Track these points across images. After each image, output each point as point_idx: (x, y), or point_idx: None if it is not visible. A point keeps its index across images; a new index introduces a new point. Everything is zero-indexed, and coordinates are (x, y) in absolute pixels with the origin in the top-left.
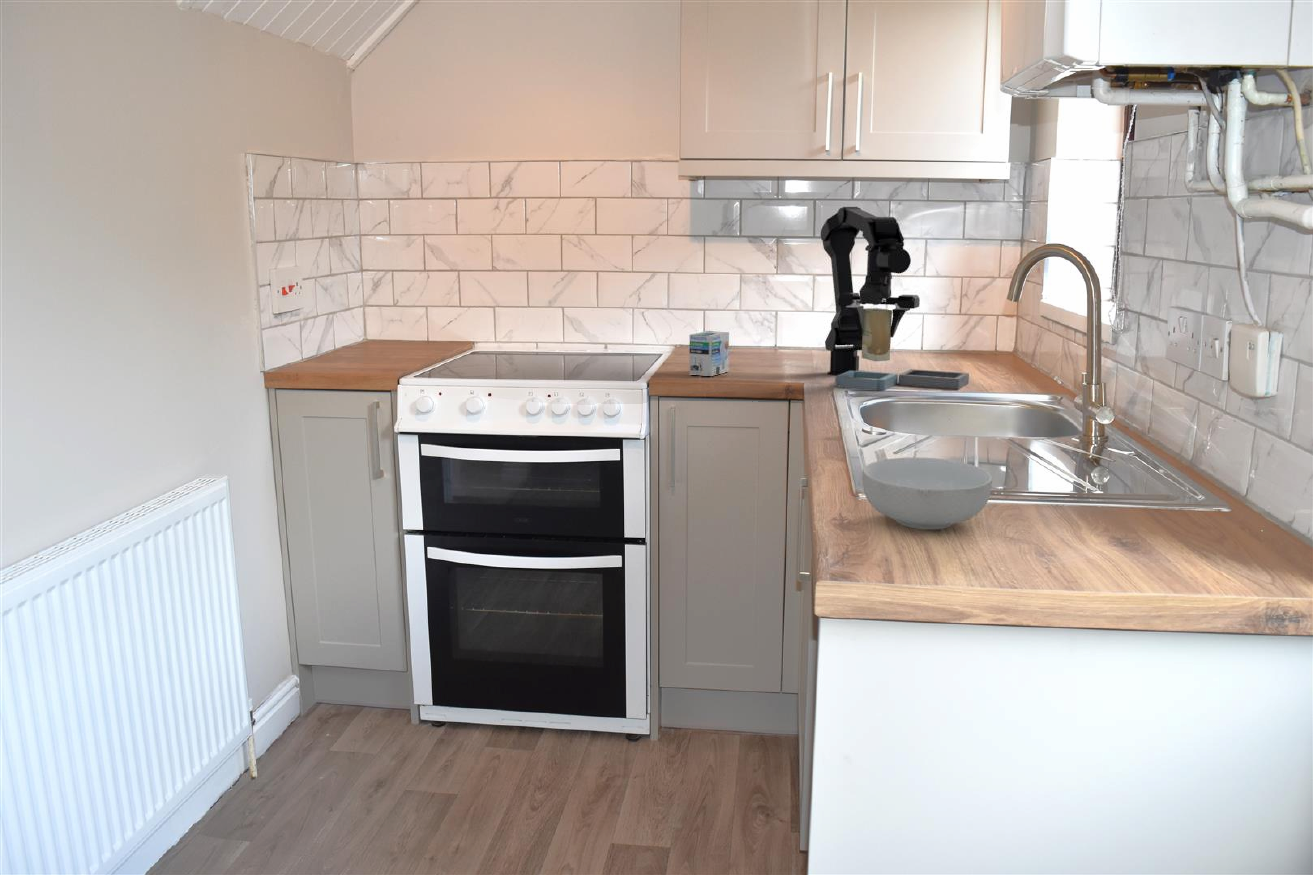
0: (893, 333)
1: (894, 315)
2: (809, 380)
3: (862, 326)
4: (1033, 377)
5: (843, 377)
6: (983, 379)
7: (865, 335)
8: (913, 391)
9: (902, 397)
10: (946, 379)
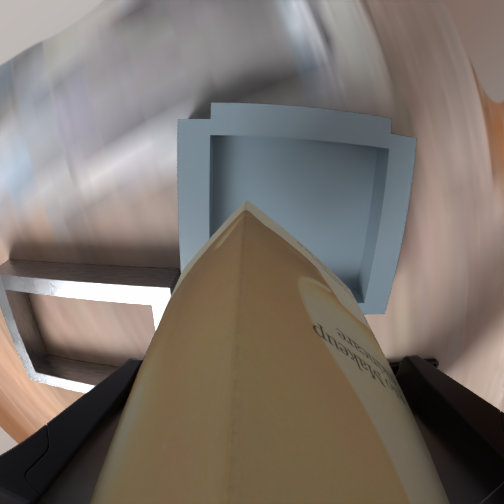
0: (108, 376)
1: (8, 498)
2: (483, 240)
3: (421, 433)
4: (18, 433)
5: (379, 117)
6: (53, 411)
7: (372, 357)
8: (88, 157)
9: (93, 19)
10: (18, 273)
